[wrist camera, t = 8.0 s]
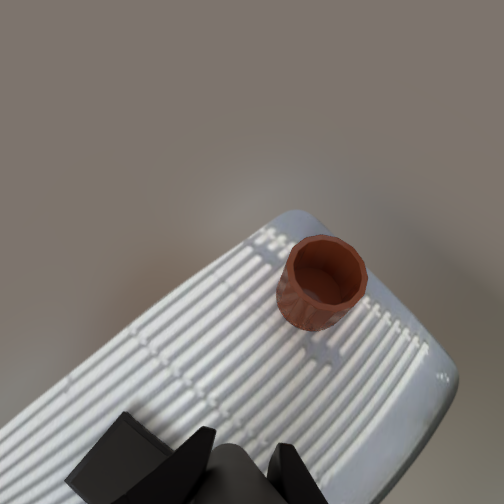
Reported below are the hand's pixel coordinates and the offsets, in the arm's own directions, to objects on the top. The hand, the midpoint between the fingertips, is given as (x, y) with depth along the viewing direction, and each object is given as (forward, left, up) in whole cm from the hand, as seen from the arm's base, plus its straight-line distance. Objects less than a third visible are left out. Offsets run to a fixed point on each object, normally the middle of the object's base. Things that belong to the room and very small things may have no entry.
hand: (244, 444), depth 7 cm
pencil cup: (+13, +1, -15) cm, 19 cm away
